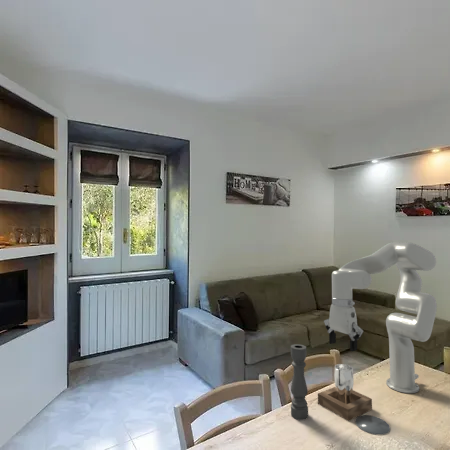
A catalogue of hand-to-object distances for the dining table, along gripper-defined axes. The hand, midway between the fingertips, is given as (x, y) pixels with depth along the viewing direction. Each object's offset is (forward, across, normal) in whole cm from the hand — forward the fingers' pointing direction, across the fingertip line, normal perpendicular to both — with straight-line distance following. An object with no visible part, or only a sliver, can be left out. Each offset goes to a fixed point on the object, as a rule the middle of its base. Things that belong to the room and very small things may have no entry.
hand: (342, 346), depth 124 cm
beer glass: (+23, 0, 0) cm, 23 cm away
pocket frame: (+23, 0, 0) cm, 23 cm away
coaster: (+23, -13, +2) cm, 26 cm away
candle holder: (+23, +5, +18) cm, 30 cm away
